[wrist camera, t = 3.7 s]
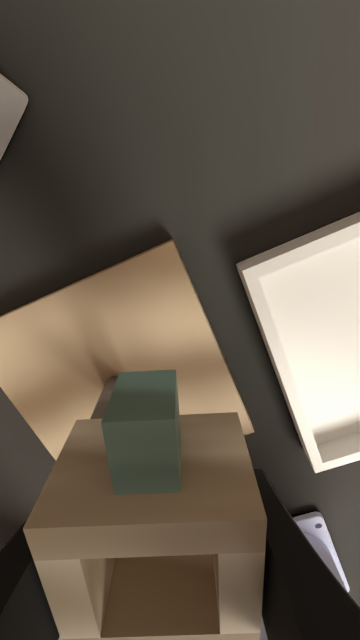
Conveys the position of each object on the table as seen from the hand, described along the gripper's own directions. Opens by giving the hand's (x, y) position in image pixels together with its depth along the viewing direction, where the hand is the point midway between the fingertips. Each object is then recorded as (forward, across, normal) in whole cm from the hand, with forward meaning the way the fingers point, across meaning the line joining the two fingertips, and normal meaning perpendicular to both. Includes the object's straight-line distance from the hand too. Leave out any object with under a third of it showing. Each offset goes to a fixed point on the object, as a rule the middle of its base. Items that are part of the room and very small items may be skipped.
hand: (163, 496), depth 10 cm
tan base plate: (+8, +3, +1) cm, 9 cm away
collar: (+1, 0, 0) cm, 1 cm away
